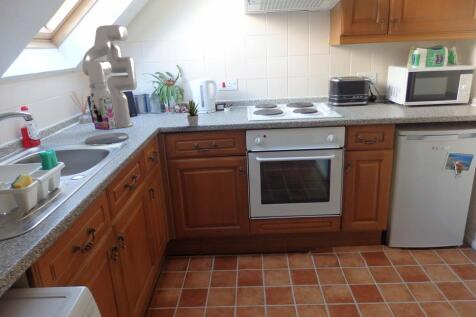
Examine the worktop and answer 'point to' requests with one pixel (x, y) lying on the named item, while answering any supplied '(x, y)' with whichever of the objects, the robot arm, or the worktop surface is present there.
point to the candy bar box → (105, 115)
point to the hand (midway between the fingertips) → (104, 120)
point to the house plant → (192, 113)
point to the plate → (107, 138)
